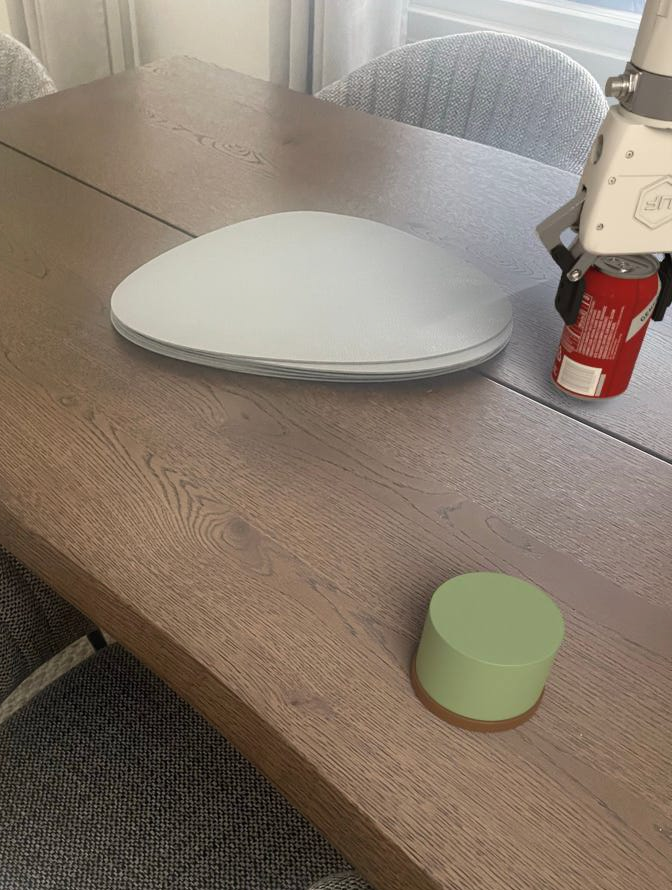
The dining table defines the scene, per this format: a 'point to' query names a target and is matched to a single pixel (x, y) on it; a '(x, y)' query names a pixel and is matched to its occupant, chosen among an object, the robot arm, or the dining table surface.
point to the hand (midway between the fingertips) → (608, 314)
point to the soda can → (608, 327)
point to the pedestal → (486, 651)
